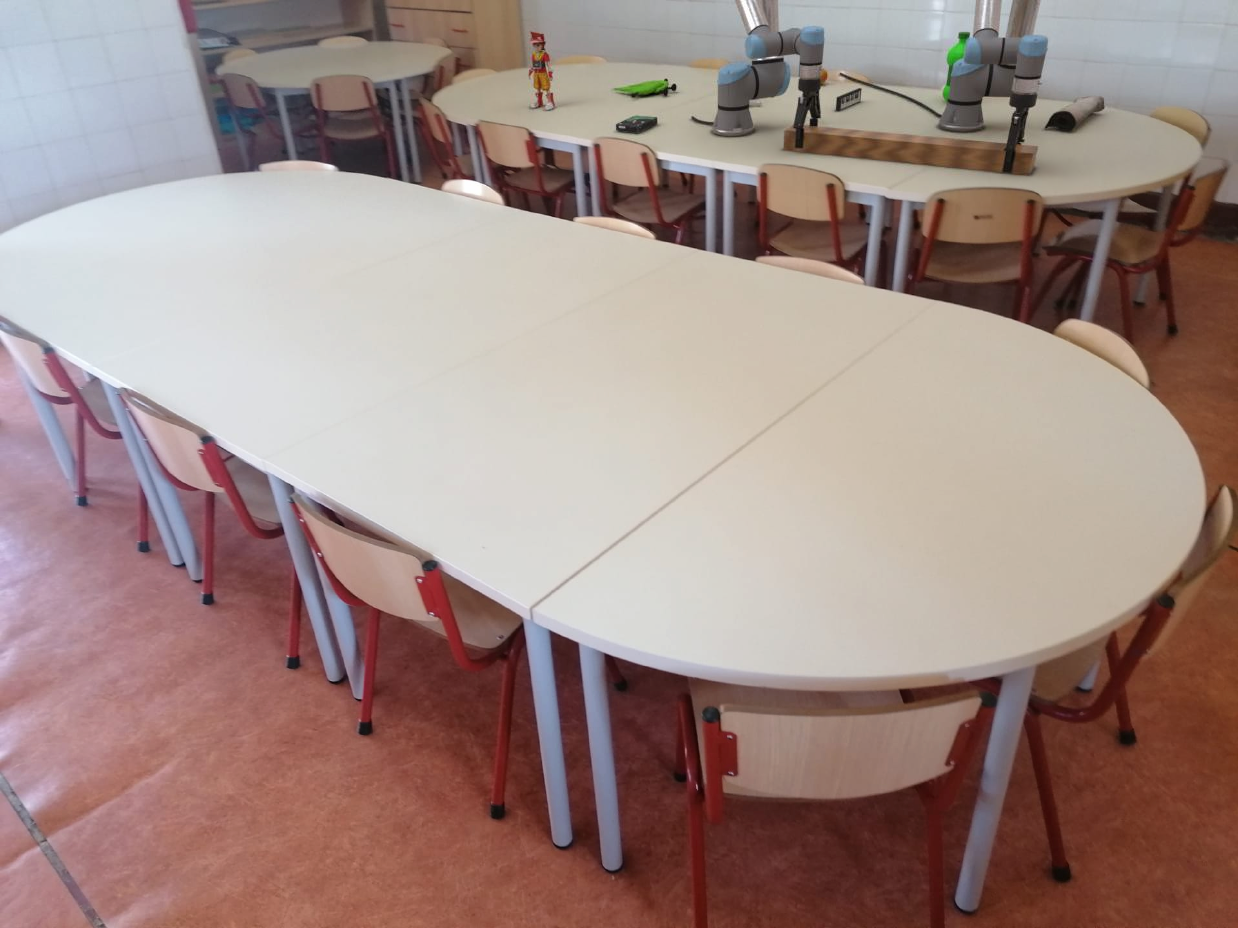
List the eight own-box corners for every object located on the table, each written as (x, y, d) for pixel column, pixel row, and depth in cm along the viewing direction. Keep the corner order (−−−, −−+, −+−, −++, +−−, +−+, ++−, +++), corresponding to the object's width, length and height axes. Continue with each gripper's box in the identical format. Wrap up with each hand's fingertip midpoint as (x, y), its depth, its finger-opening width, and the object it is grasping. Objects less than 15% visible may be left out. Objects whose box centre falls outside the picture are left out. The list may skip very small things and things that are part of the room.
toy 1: (525, 109, 381) (517, 32, 364) (534, 104, 388) (527, 28, 371) (550, 110, 377) (543, 32, 360) (559, 105, 384) (553, 28, 367)
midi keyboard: (838, 111, 353) (839, 97, 350) (835, 110, 353) (836, 97, 350) (860, 101, 363) (861, 88, 360) (857, 101, 364) (859, 88, 361)
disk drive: (638, 134, 340) (658, 124, 350) (638, 126, 338) (657, 116, 349) (615, 131, 345) (635, 121, 355) (615, 124, 343) (635, 114, 353)
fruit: (802, 77, 388) (813, 60, 385) (805, 81, 396) (816, 64, 392) (818, 88, 386) (829, 71, 383) (820, 91, 394) (832, 74, 391)
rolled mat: (1071, 101, 334) (1096, 83, 326) (1085, 121, 335) (1110, 105, 327) (1040, 123, 317) (1065, 105, 309) (1054, 144, 318) (1080, 127, 309)
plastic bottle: (973, 101, 354) (984, 32, 339) (955, 106, 349) (966, 36, 335) (952, 97, 361) (962, 29, 346) (934, 102, 356) (944, 33, 342)
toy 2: (686, 85, 398) (631, 84, 414) (685, 72, 395) (629, 72, 411) (651, 104, 381) (596, 103, 397) (650, 92, 378) (594, 91, 394)
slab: (783, 150, 314) (784, 130, 310) (792, 143, 320) (793, 124, 316) (1028, 175, 278) (1033, 153, 274) (1033, 167, 284) (1038, 146, 280)
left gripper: (807, 86, 290) (803, 153, 302) (833, 70, 307) (828, 135, 319) (785, 85, 294) (782, 151, 306) (812, 69, 311) (808, 133, 323)
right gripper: (1031, 101, 261) (1015, 179, 274) (1044, 85, 276) (1028, 159, 289) (1004, 99, 265) (990, 176, 278) (1018, 84, 280) (1004, 157, 292)
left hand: (805, 143), depth 313 cm, fingers open, 12 cm apart
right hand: (1009, 167), depth 283 cm, fingers closed on slab, 8 cm apart
